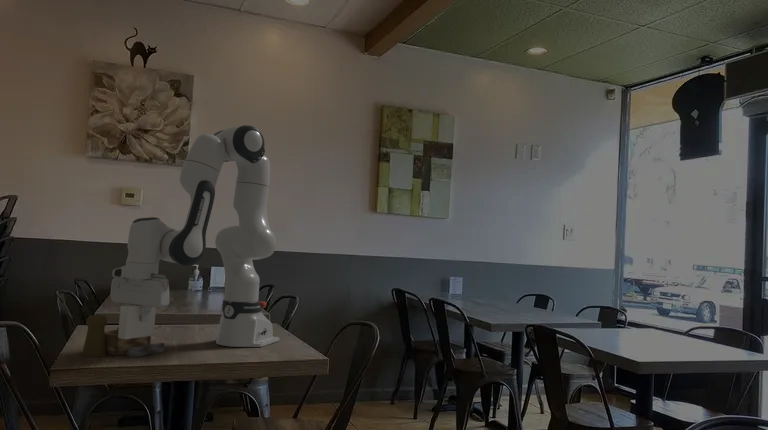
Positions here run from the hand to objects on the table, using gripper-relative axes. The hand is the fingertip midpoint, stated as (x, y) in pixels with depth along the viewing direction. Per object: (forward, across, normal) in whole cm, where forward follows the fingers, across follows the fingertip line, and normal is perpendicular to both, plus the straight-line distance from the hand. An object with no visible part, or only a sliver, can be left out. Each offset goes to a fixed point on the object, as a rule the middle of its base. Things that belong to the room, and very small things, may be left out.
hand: (137, 320), depth 166 cm
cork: (+10, +7, +8) cm, 14 cm away
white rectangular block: (+5, 0, 0) cm, 5 cm away
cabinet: (+9, +4, -1) cm, 10 cm away
